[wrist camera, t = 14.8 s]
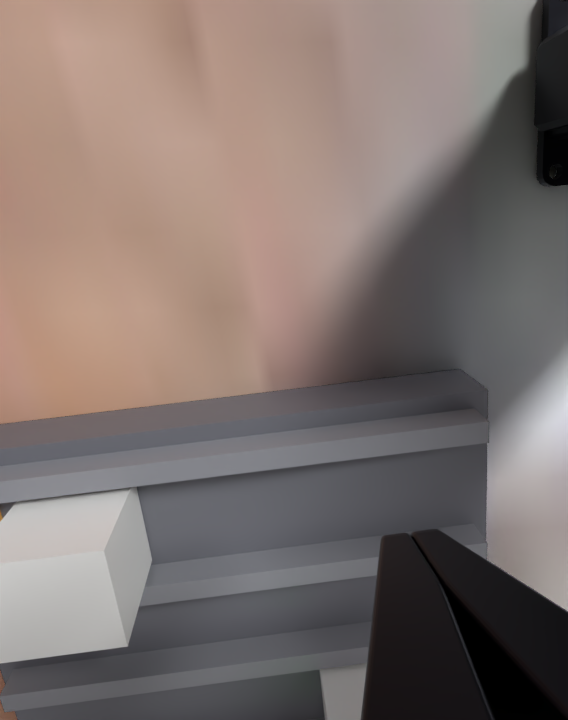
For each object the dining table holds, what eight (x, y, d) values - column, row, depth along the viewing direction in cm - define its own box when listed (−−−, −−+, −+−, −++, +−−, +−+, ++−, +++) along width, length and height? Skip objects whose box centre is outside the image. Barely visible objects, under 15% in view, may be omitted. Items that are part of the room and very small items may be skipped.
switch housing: (460, 369, 21) (503, 401, 17) (461, 671, 25) (495, 746, 22) (-35, 428, 20) (-96, 475, 17) (59, 726, 25) (27, 812, 21)
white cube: (134, 479, 18) (103, 550, 14) (152, 559, 19) (127, 646, 15) (23, 492, 18) (-38, 568, 14) (46, 573, 19) (-5, 664, 15)
